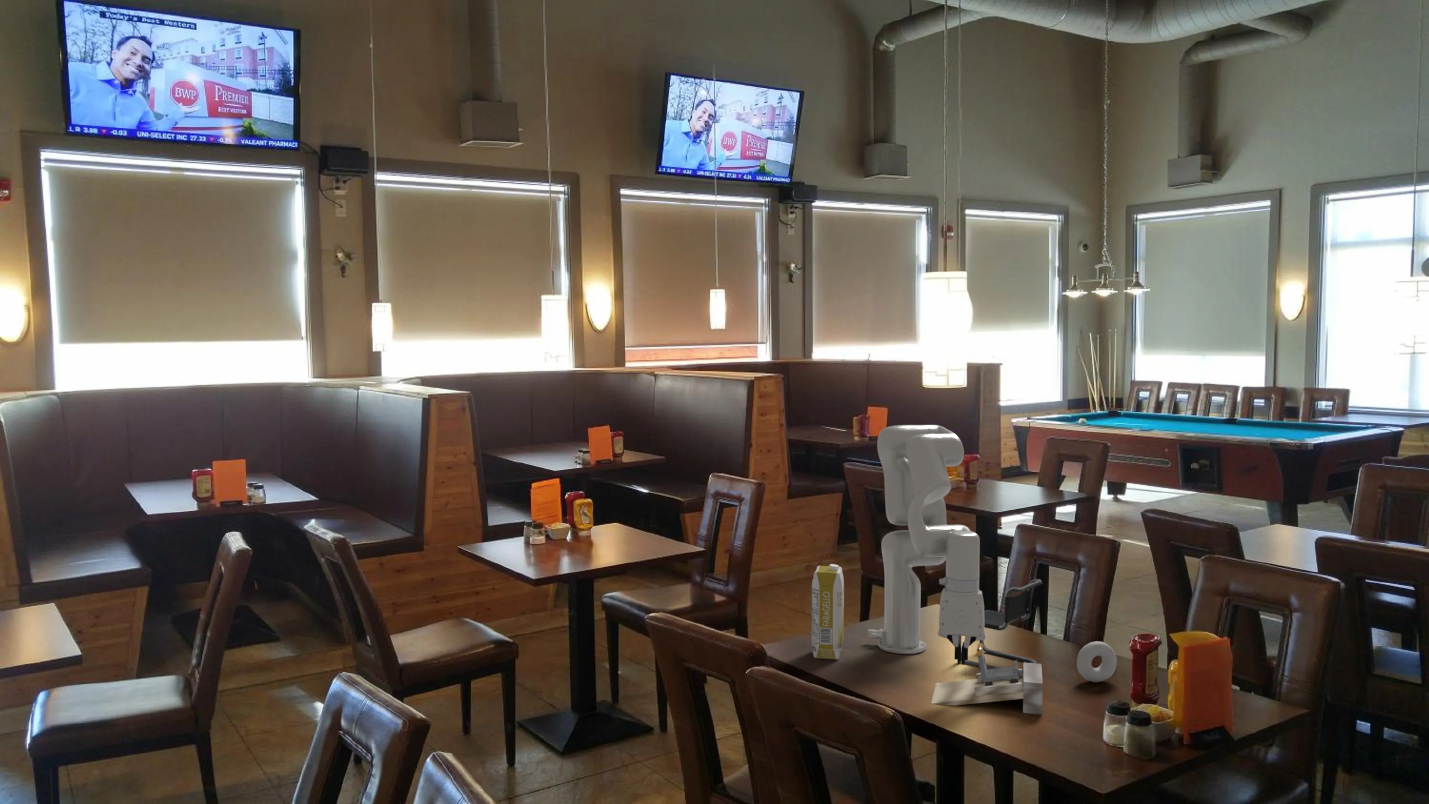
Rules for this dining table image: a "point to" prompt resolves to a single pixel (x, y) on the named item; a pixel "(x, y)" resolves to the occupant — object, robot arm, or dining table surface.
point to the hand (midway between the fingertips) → (961, 662)
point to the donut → (1087, 656)
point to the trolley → (996, 670)
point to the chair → (1009, 618)
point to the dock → (995, 690)
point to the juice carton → (827, 612)
